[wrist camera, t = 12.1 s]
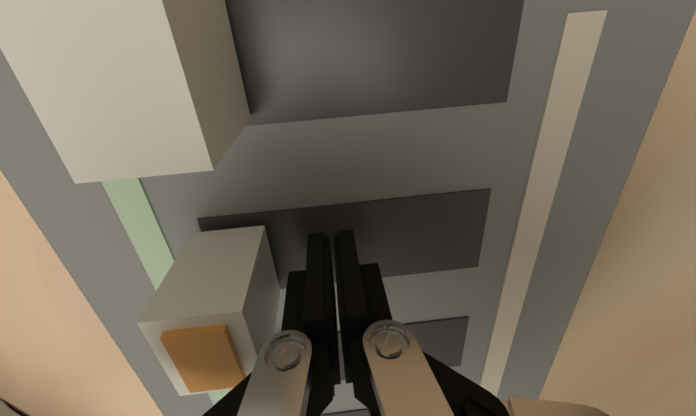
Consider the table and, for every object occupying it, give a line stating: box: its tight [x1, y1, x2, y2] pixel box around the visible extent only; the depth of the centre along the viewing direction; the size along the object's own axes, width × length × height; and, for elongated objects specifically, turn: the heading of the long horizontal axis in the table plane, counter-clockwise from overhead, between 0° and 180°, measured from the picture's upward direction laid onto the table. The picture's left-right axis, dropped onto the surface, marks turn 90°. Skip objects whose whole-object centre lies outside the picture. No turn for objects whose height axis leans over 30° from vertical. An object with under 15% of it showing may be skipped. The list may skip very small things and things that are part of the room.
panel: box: [0, 0, 696, 416], centre depth 15 cm, size 22×25×2 cm
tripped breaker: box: [137, 225, 280, 396], centre depth 10 cm, size 3×3×4 cm
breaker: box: [0, 0, 251, 184], centre depth 7 cm, size 3×3×4 cm
